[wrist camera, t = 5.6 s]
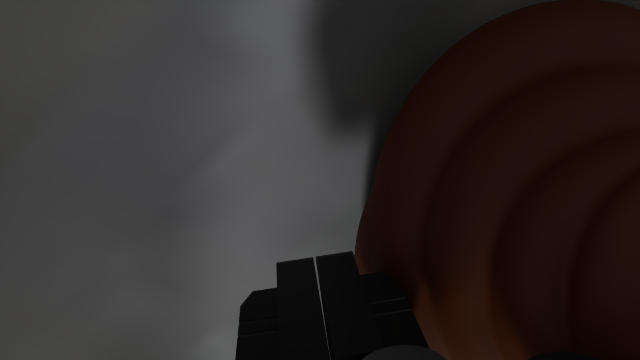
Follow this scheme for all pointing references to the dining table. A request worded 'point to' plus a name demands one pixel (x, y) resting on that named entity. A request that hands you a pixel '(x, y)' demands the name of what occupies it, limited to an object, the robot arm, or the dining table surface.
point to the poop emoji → (518, 188)
